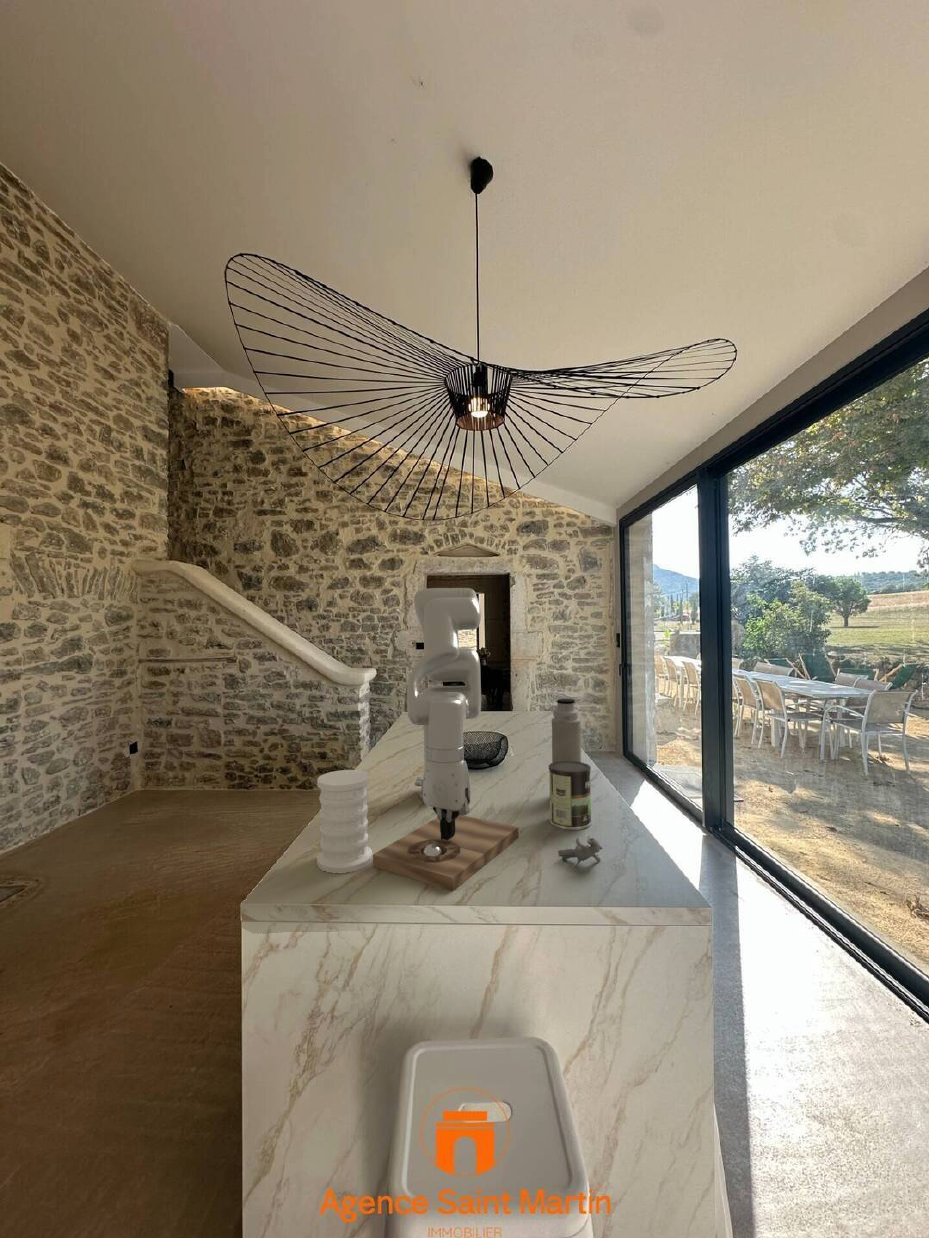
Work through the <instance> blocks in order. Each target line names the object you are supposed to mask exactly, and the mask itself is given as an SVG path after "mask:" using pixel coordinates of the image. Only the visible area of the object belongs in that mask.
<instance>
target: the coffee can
mask: <svg viewBox="0 0 929 1238" xmlns="http://www.w3.org/2000/svg"><path fill="white" fill-rule="evenodd" d="M548 770H549V773H548V774H549V823H550V824H551V825H552V826H554V827H555V828H559V829H563V830H568V831H569V830H570V831H580V830H584V829H587V828H589V827H590V826H592V816H591V815H592V810H591V807H592V806H591V804H592V803H591V802H592V801H591V800H592V799H591V766H590V764H589V763H588V764H587V763H585V762H582V761H581V762H577V761H558V762H554V763H552V762H551V763H549V765H548Z"/></svg>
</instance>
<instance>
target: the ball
mask: <svg viewBox="0 0 929 1238" xmlns="http://www.w3.org/2000/svg"><path fill="white" fill-rule="evenodd" d="M423 855H426V856H440V855H442V851H441V849H440V847H439V846H437V845H435V844H430V845H428V846H426V847H425V849H424V851H423Z"/></svg>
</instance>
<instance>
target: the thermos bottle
mask: <svg viewBox="0 0 929 1238" xmlns="http://www.w3.org/2000/svg"><path fill="white" fill-rule="evenodd" d="M575 702H576V701H575V699H573V698H558V699H556V703H557V704H556V706H557V707H556V709H555V710H554V711H553V718H551V751H552V753H551V756H552V757H551V759H552V760H551V761H552V762H551V763H554V762H558V761H577V762H582V737H581V736H582V735H581V734H582V733H581V729H582V728H581V723H582V722H581V719H580V718H579V711H578V710H577V709H575V707H576V706H575Z"/></svg>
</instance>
